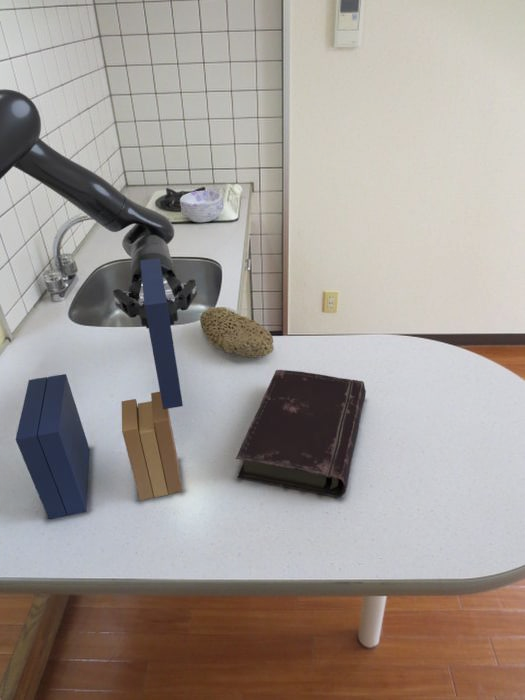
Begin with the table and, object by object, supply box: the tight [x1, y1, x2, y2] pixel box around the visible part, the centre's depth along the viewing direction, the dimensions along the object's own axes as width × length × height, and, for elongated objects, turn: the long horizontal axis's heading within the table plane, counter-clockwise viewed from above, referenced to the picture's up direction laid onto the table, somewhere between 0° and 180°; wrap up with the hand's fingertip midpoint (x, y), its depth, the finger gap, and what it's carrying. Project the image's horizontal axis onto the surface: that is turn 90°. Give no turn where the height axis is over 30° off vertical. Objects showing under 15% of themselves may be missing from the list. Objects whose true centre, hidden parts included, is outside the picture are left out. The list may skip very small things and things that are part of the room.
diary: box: [235, 369, 367, 498], centre depth 93 cm, size 19×25×5 cm
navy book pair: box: [15, 373, 91, 520], centre depth 83 cm, size 6×14×17 cm, turn 13°
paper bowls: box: [179, 189, 225, 224], centre depth 187 cm, size 15×15×8 cm
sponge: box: [199, 306, 274, 358], centre depth 118 cm, size 13×8×20 cm
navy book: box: [140, 258, 184, 410], centre depth 76 cm, size 3×14×17 cm, turn 13°
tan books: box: [121, 391, 183, 501], centre depth 83 cm, size 7×7×16 cm
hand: (159, 321), depth 77 cm, fingers closed on navy book, 3 cm apart
